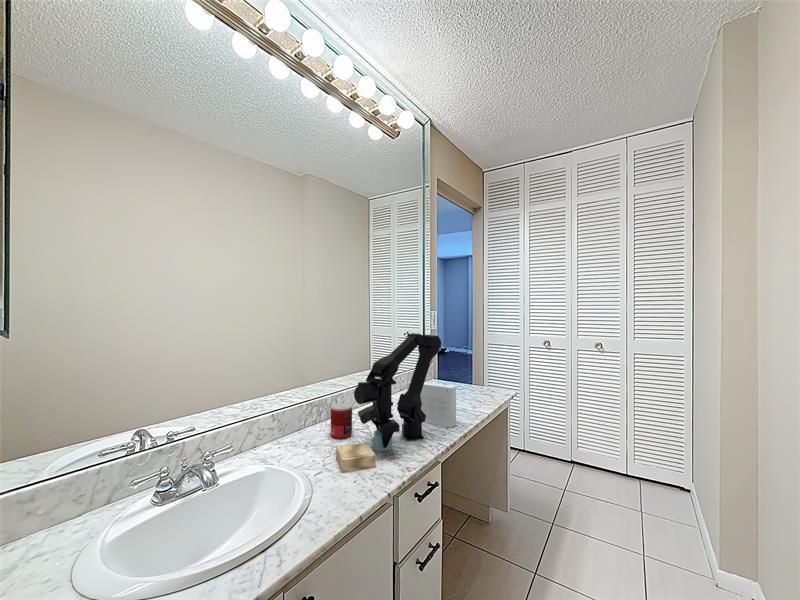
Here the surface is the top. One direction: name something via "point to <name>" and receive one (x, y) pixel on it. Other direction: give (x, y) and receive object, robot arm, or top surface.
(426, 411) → the skincare box
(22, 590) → the top surface
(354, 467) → the bamboo box
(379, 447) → the teal cube
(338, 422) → the canned food
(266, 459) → the top surface
